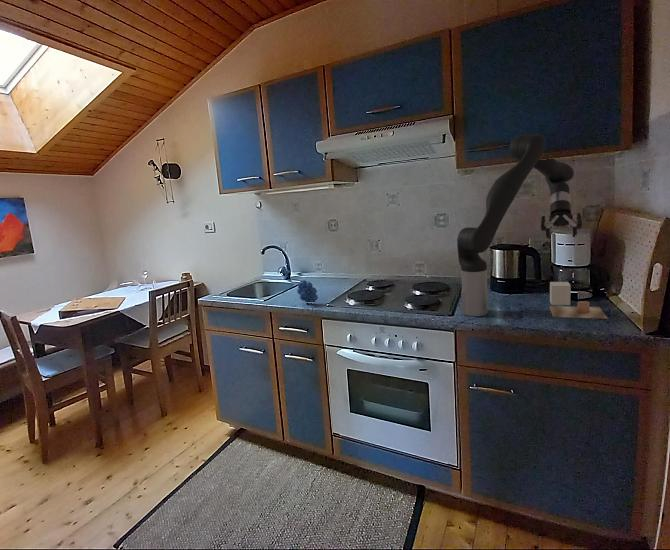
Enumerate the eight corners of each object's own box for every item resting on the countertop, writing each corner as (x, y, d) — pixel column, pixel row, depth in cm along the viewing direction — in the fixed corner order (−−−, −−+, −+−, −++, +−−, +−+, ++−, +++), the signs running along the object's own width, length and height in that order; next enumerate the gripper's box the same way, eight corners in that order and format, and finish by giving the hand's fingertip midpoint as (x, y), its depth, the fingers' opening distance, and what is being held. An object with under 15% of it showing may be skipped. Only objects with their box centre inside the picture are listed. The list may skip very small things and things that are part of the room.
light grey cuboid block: (551, 307, 148) (551, 285, 146) (549, 302, 153) (550, 281, 152) (570, 307, 145) (570, 285, 143) (567, 303, 151) (568, 281, 149)
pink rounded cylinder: (578, 313, 135) (578, 303, 135) (576, 310, 139) (576, 301, 138) (590, 313, 134) (590, 304, 133) (588, 310, 137) (588, 301, 136)
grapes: (293, 306, 187) (290, 282, 184) (301, 302, 192) (299, 278, 190) (313, 307, 180) (310, 282, 178) (321, 303, 186) (318, 279, 184)
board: (552, 319, 135) (552, 316, 135) (549, 308, 146) (549, 306, 146) (607, 321, 128) (607, 318, 128) (599, 309, 140) (599, 307, 140)
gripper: (540, 201, 161) (540, 232, 153) (581, 197, 154) (583, 230, 147) (540, 212, 166) (541, 243, 159) (579, 209, 159) (581, 241, 152)
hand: (561, 237), depth 153 cm, fingers open, 8 cm apart
